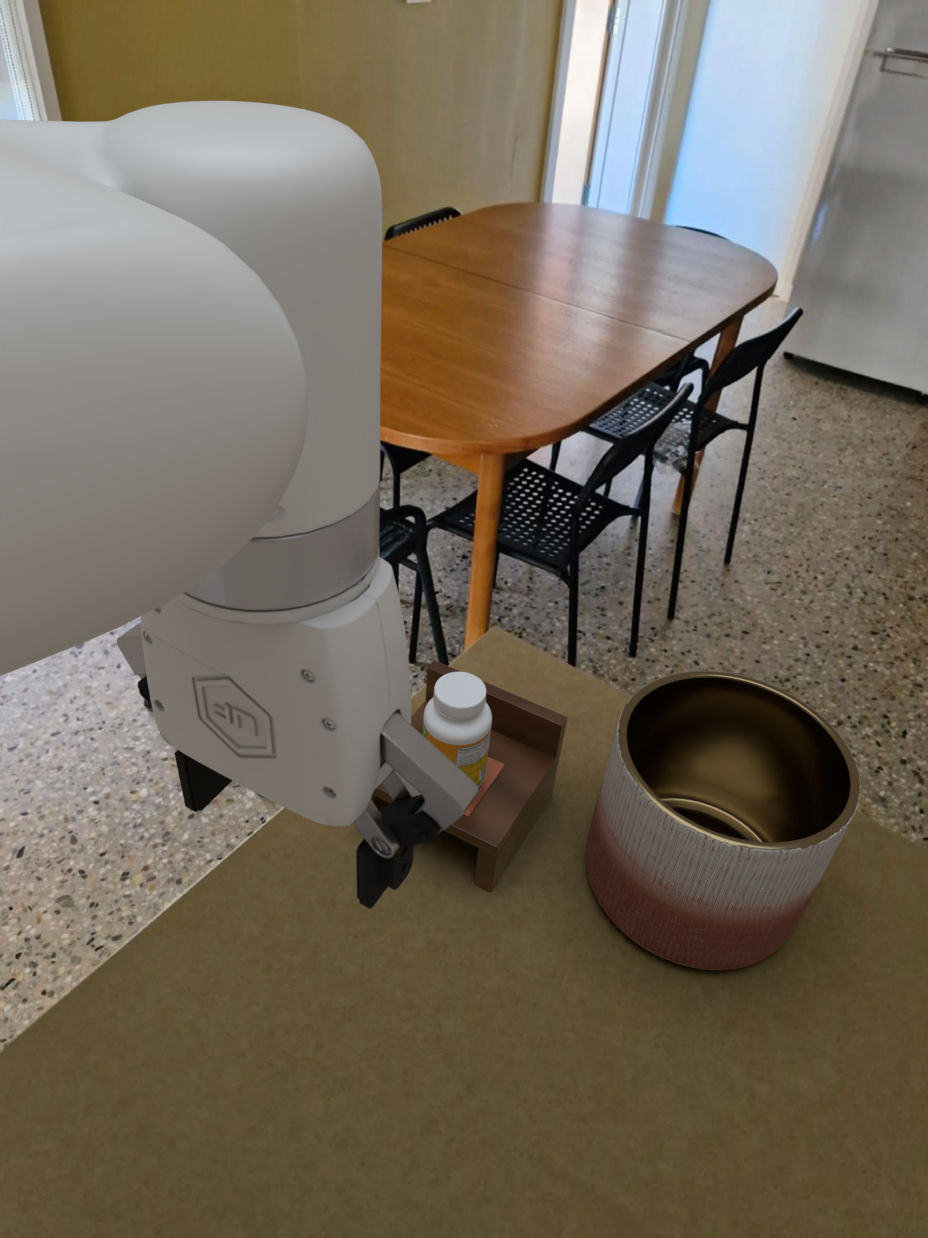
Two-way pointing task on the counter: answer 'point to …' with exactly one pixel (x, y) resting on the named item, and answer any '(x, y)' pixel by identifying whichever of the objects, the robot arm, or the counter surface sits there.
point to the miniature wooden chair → (503, 776)
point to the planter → (717, 817)
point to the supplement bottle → (460, 722)
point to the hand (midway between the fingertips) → (295, 834)
